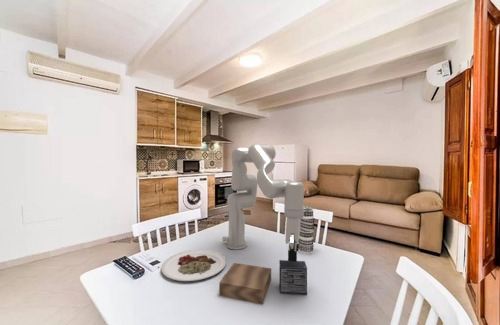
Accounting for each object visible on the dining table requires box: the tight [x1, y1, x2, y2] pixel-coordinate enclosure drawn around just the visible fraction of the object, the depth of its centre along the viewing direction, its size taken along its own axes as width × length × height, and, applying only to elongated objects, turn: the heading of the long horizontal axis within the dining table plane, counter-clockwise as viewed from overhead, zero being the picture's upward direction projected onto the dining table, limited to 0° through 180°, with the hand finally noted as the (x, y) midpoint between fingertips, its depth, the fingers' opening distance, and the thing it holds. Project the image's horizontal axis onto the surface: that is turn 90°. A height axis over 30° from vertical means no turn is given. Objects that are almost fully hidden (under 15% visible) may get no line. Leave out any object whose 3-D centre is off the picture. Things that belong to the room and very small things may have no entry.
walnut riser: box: [218, 262, 272, 305], centre depth 87 cm, size 17×16×5 cm
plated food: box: [160, 249, 227, 282], centre depth 104 cm, size 30×30×3 cm
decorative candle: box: [297, 205, 316, 255], centre depth 122 cm, size 9×9×25 cm
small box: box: [278, 259, 308, 296], centre depth 86 cm, size 11×6×10 cm, turn 84°
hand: (293, 255), depth 86 cm, fingers open, 9 cm apart
